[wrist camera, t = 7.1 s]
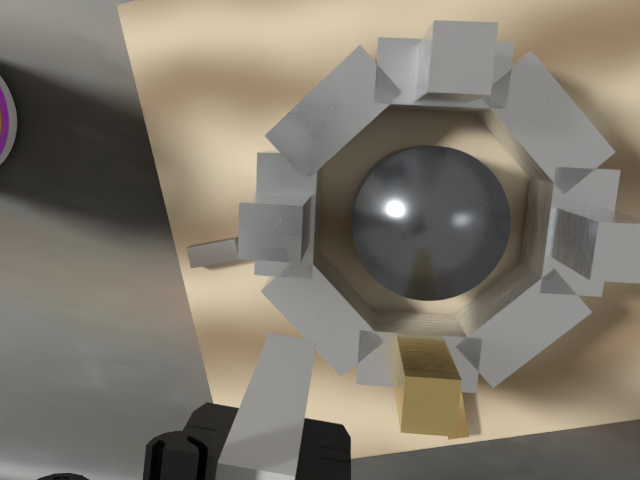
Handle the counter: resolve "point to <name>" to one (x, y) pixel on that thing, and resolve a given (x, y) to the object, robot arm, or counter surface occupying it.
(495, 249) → the dark grey dome
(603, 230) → the ring nut
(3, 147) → the supplement bottle
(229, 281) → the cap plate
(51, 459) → the counter surface
